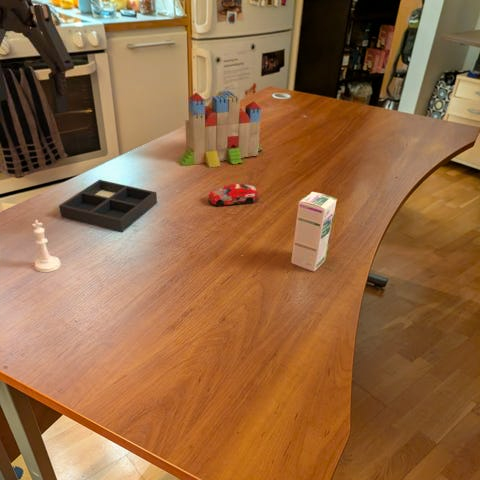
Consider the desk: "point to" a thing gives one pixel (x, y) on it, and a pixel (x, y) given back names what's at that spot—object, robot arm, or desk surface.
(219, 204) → the race car
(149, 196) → the grid
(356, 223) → the desk surface
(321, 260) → the syrup box
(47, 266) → the chess piece
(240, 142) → the block set
